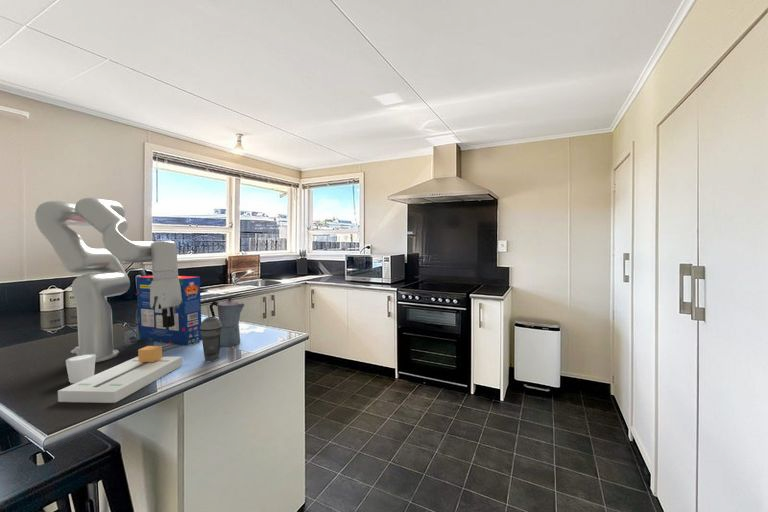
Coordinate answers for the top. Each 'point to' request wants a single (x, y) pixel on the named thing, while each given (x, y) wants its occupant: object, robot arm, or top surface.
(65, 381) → the top surface
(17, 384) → the top surface
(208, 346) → the beverage cup
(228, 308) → the moka pot
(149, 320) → the blue box
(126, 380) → the slide fader track
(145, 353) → the fader knob
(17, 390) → the top surface
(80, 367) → the white tapered cup
